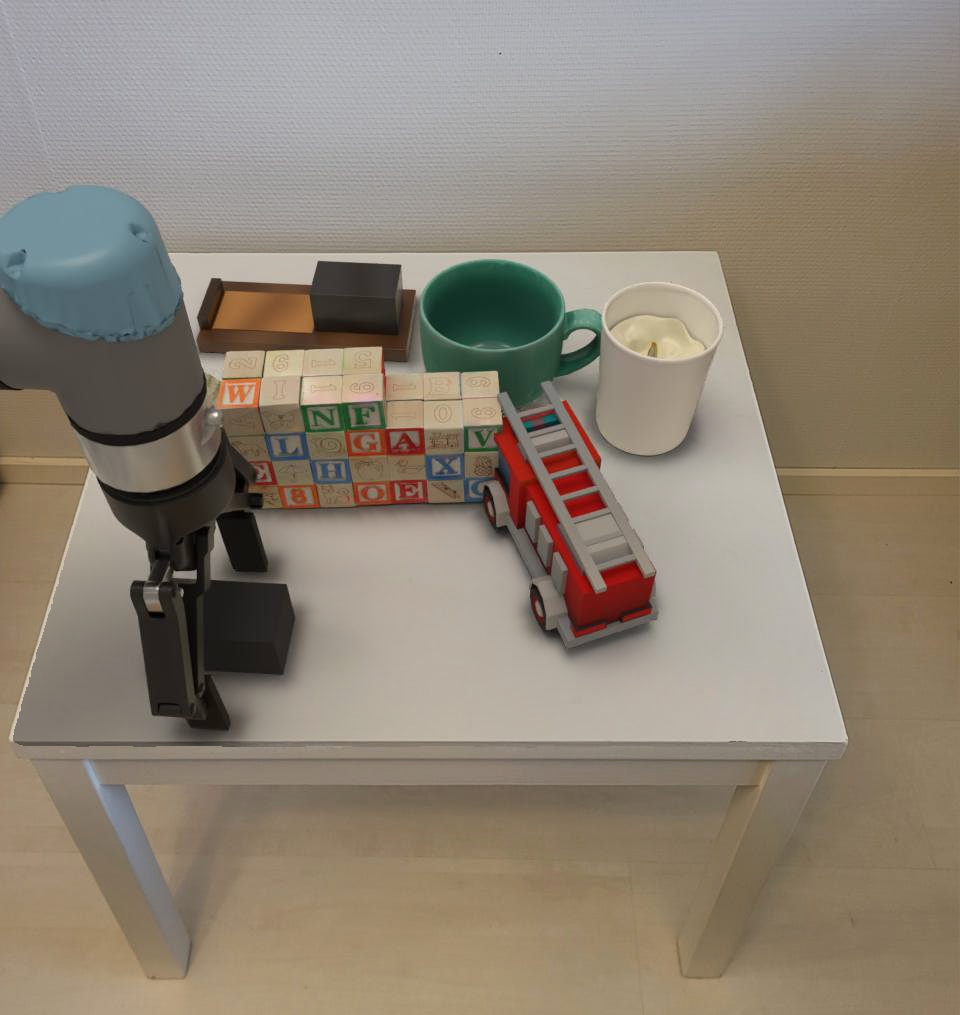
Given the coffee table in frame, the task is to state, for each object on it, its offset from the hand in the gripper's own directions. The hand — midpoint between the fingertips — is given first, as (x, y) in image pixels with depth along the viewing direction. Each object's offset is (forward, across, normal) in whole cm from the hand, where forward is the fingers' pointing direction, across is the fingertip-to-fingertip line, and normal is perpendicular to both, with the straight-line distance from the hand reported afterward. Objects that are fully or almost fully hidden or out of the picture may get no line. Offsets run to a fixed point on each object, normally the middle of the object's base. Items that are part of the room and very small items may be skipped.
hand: (232, 640), depth 72 cm
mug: (0, +29, -20) cm, 35 cm away
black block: (0, 0, 0) cm, 0 cm away
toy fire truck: (0, +10, -25) cm, 27 cm away
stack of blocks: (0, +17, -9) cm, 19 cm away
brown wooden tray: (0, +36, 0) cm, 36 cm away
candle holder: (+1, +25, -32) cm, 40 cm away
